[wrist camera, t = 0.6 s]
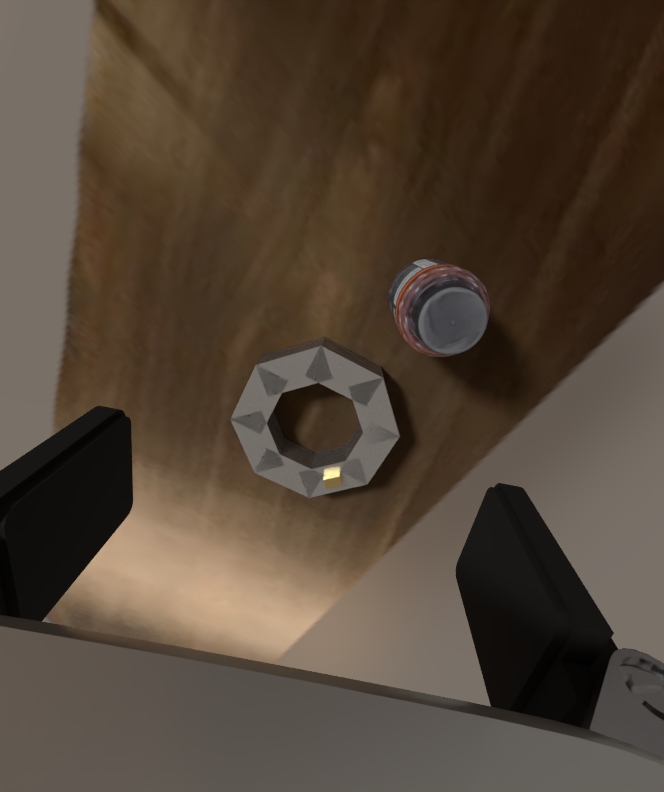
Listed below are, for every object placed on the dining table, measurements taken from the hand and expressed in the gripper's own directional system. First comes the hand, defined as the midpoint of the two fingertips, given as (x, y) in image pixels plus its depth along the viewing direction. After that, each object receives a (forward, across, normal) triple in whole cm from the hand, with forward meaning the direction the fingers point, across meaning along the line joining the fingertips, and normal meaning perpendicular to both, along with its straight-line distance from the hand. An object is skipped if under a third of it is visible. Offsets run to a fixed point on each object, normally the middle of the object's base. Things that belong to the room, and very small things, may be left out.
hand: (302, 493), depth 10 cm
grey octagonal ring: (+26, 0, +10) cm, 28 cm away
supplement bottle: (+26, -6, -2) cm, 27 cm away
